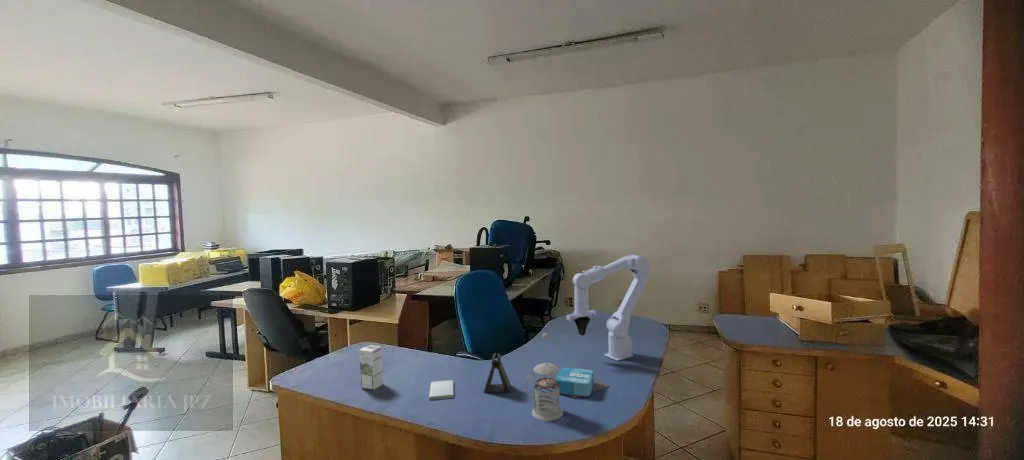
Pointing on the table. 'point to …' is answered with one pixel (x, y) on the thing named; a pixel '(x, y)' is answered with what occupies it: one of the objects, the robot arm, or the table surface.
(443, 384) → the hard drive
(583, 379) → the data package
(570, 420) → the table surface
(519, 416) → the table surface
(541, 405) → the french press
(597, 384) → the mat
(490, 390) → the phone stand
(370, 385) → the syrup box
